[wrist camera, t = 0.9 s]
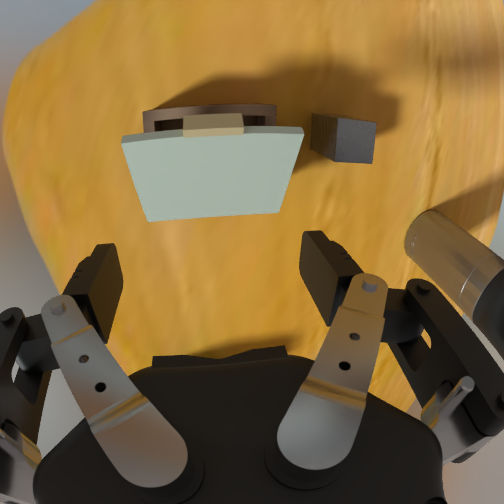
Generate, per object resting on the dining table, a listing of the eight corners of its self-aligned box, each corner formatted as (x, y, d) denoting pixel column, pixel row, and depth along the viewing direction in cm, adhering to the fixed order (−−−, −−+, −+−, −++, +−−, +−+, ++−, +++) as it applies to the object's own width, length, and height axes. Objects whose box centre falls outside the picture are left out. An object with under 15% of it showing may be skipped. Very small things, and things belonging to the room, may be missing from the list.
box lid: (301, 114, 20) (307, 128, 19) (276, 200, 30) (278, 214, 29) (122, 122, 18) (118, 137, 17) (148, 209, 28) (147, 223, 27)
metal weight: (345, 115, 31) (376, 122, 25) (342, 150, 34) (372, 163, 28) (311, 112, 31) (338, 118, 25) (310, 148, 33) (334, 161, 27)
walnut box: (262, 104, 29) (276, 105, 24) (261, 188, 34) (273, 205, 29) (152, 109, 28) (142, 111, 22) (159, 194, 33) (152, 214, 27)
